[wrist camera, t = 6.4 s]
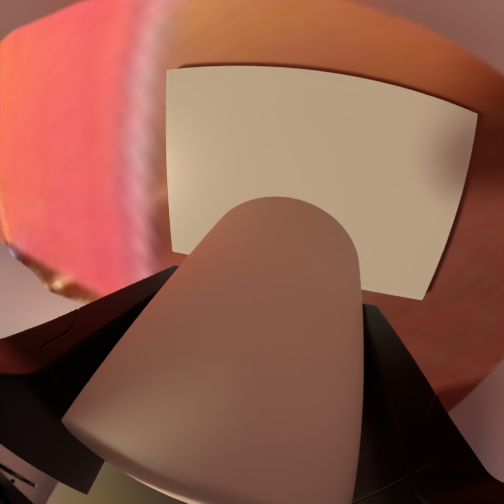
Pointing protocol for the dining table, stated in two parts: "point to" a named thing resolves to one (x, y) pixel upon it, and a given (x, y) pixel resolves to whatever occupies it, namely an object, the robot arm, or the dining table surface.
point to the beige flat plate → (320, 160)
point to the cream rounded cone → (241, 367)
